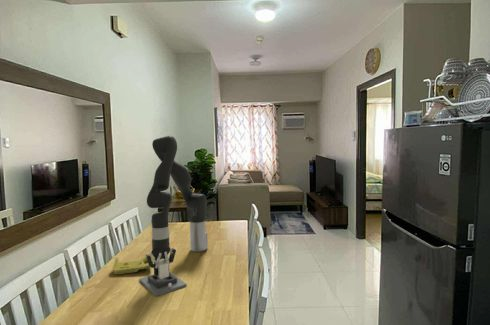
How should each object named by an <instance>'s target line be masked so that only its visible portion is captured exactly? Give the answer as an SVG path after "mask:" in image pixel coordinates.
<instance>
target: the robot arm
mask: <svg viewBox="0 0 490 325" xmlns="http://www.w3.org/2000/svg"><path fill="white" fill-rule="evenodd" d="M151 146H152V149H153V151H154V153H155V155H156V156H157V157H158V159H159V160H160V164H159V165H158V166H157V168H156V170H155V172H154V177H153V183H152V186H151V189H150V190H149V192H148V194H147V197H146V205H147V207H148V208H151V209H163V210H162V211H159V212H156V213H153V214H152V215H151V245H152V246H151V252H150V253H148V254H146V255H145V257H146V259H147V261H148V264H149V266H150V267H151V268H150V269H153V275H154V274H155V275H156V276H158V275H159V274H158V264H159V262H160V260H164V261H166V262H167V263H169V265H170V264H171V263H174V259H175V255H176V252H177V250H176V249H175V248H174V247H173V248H171V247H170V228H169V213H170V208H171V204H172V200H173V198H172V194H171V193H170V192H169V191H167V190H168V189H169V187H170V180H171V179H172V181H173V182H174V183H175V186H177V188H178V190H179V192H180V194H181V195H182V198H183V201H184V203H185V205H186V206H187V208H188V209H189V210H196V213H195V214H193V215H192V214H191V215H190V217H189V238H190V239H189V240H190V244H189V246H190V251H191V252H194V253H199V252H204V251H206V250H208V249H209V246H208V244H209V243H208V232H207V226H206V225H207V224H206V221H207V220H206V219H207V218H206V217H207V206H208V205H207V204H208V202H207V196H206V195H205V194H204V193H194V192H193V191H192V189H191V183H192V177H191V174H190V172H189V170H188V168H186V166H185V165H183V164H182V163H180V162H178V161H177V160H175V158H176V155H177V151H178V142H177V139H176V138H175V136H173V135H166V136H163V137H159V138H155V139H154V140H152V145H151ZM152 256H154V262H152V260H151V259H152Z"/></svg>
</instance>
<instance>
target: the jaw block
mask: <svg viewBox="0 0 490 325" xmlns="http://www.w3.org/2000/svg"><path fill="white" fill-rule="evenodd" d="M169 272H170V264H169V263H167V262H166V261H164V259H161V260H160V262H159V264H158V274H159V275H158V276H157V277H158V278H160V279H162V278H166V277H169Z"/></svg>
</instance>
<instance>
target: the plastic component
mask: <svg viewBox="0 0 490 325" xmlns="http://www.w3.org/2000/svg"><path fill="white" fill-rule="evenodd" d="M151 260H152V262H153V263H154V256H153V255H152V259H151ZM144 269H145V270H150V269H152V268H151V267H150V266H149V264H148V261H147V259H146V256H143V257H141V258H140V259H134V260H126V261H125V260H123V261H120V260H119V258H118V257H116V258H115V259H114V263H113V265H112V270H113V273H114V274H115V275H124V274H130V273H137V272H139V270H144Z"/></svg>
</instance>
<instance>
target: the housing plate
mask: <svg viewBox="0 0 490 325" xmlns="http://www.w3.org/2000/svg"><path fill="white" fill-rule="evenodd" d="M138 281H139V282H140V283H141V284H142V285H143V286H144V287H145V288H146V289H147V290H148V291H150V293H151V294H152V295H153V296H155V297H159V296H161V295H162V296H163V295H164V294H168V293H170V292H173V291H177V290H179V289H182V288H185V287H187V283H186V282H184V280H181V278H179V277H178V276H176V274H173V273H172V272H171V271H169V277H166V278H162V279H160V278H158V277H157V276H156V275H155V274H154V273H153V274H151V275H148V276H145V277H141V278H139V279H138Z"/></svg>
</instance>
